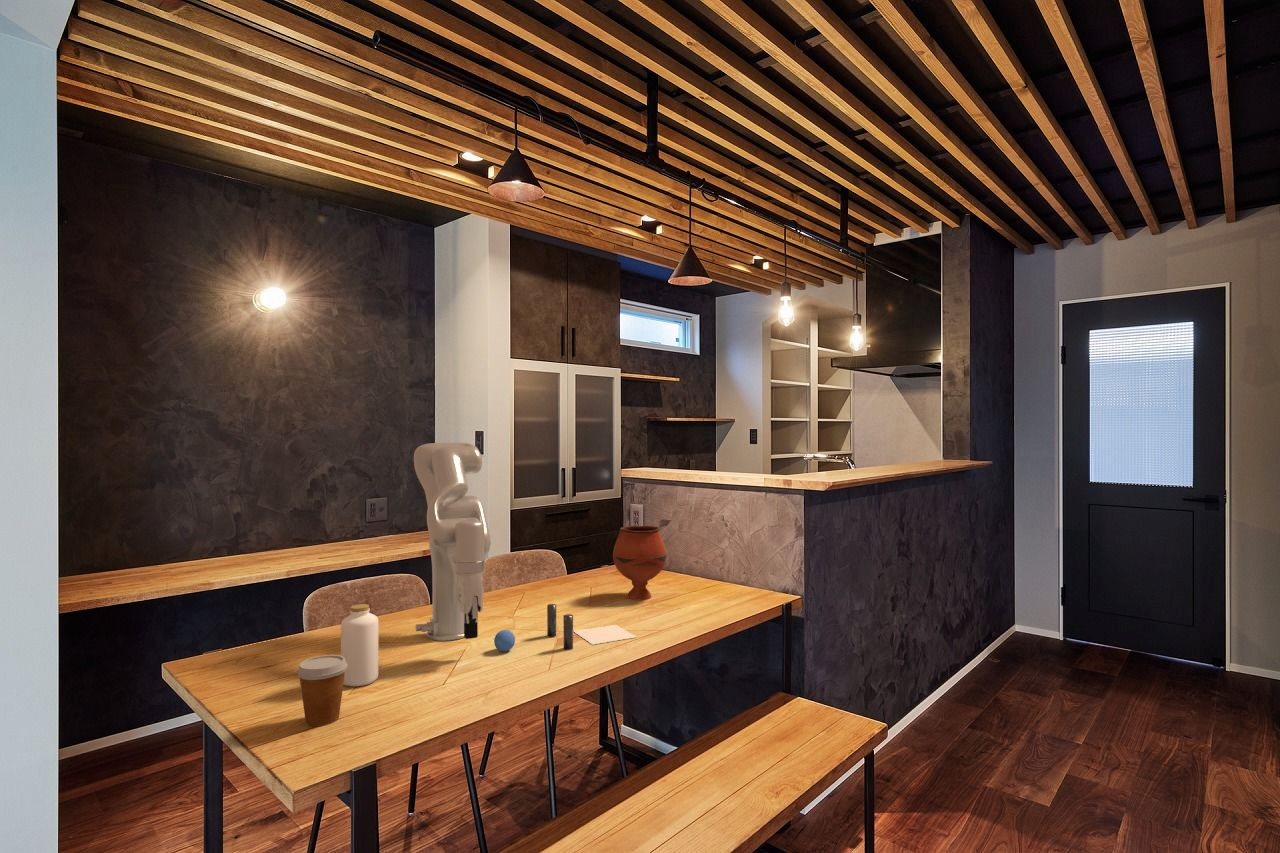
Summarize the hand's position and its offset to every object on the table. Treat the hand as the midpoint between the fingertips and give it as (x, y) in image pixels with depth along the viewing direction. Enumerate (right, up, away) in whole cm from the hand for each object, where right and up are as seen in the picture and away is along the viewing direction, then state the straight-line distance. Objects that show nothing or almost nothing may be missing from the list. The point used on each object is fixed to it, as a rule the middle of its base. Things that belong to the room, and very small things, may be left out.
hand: (470, 637), depth 176 cm
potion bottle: (-22, -6, -16) cm, 28 cm away
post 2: (+25, -5, +7) cm, 27 cm away
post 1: (+19, -5, +19) cm, 27 cm away
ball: (+8, -3, +5) cm, 10 cm away
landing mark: (+34, -5, +20) cm, 40 cm away
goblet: (+45, -6, +64) cm, 78 cm away
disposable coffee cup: (-21, -5, -37) cm, 43 cm away
